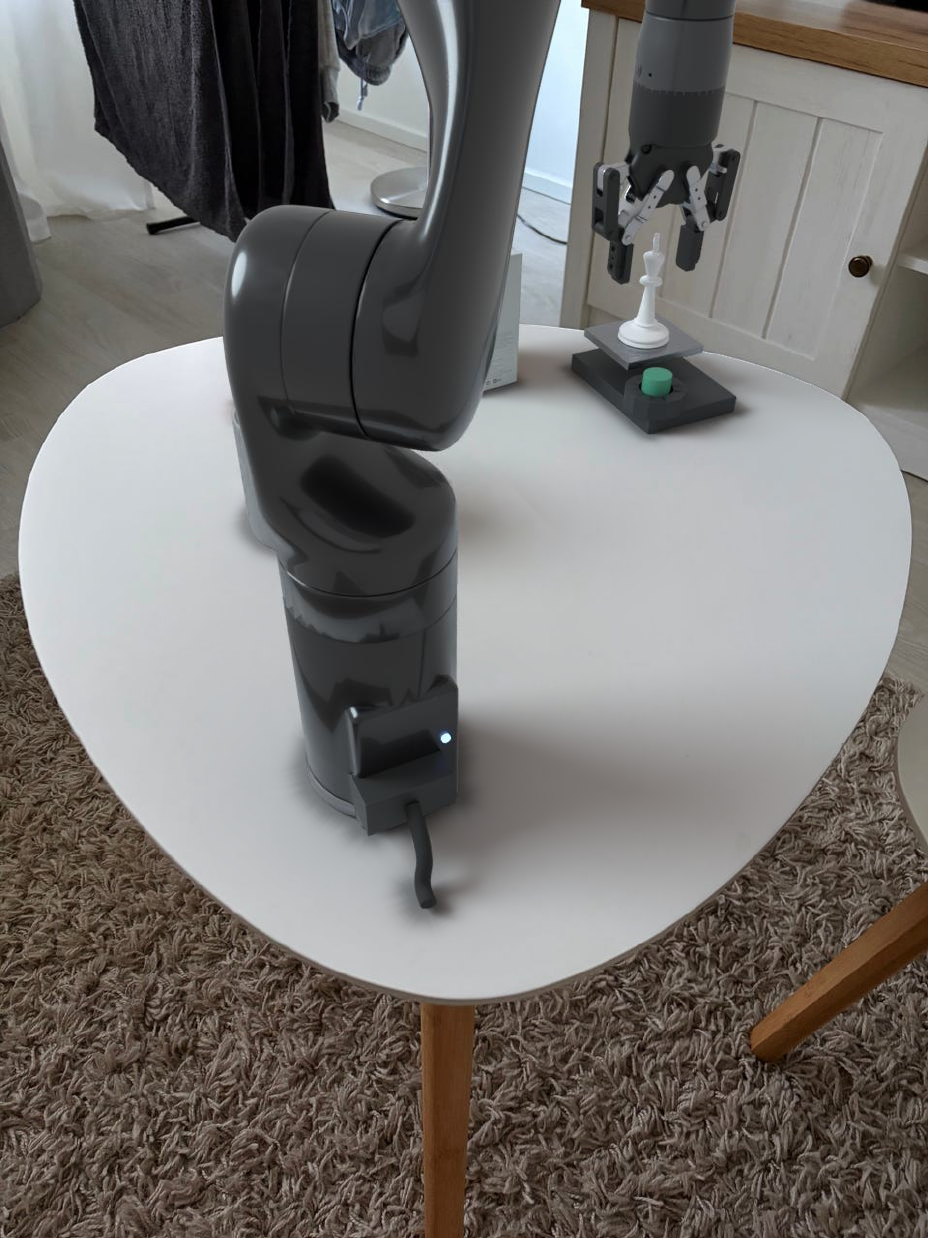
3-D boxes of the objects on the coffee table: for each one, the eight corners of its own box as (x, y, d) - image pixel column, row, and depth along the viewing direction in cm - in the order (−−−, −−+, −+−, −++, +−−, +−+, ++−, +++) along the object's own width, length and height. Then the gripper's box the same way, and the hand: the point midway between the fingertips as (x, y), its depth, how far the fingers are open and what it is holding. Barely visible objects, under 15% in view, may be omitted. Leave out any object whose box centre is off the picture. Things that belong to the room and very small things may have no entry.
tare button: (675, 394, 90) (678, 377, 89) (651, 400, 89) (654, 383, 88) (659, 382, 92) (661, 364, 90) (635, 387, 91) (638, 370, 90)
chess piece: (667, 327, 97) (683, 224, 91) (670, 350, 94) (687, 245, 87) (617, 324, 98) (629, 222, 91) (618, 347, 94) (630, 242, 87)
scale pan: (702, 352, 95) (704, 345, 94) (627, 370, 92) (628, 362, 92) (656, 319, 100) (657, 312, 100) (583, 335, 98) (584, 328, 97)
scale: (738, 416, 93) (746, 382, 91) (642, 441, 90) (647, 407, 87) (651, 350, 103) (656, 318, 101) (561, 371, 100) (564, 338, 97)
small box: (518, 382, 98) (524, 252, 89) (462, 398, 95) (463, 265, 87) (477, 349, 103) (479, 223, 94) (423, 363, 101) (420, 235, 92)
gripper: (631, 96, 76) (608, 304, 87) (780, 77, 80) (740, 276, 91) (581, 73, 81) (565, 272, 92) (723, 56, 85) (692, 248, 96)
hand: (652, 273), depth 91 cm, fingers open, 6 cm apart
